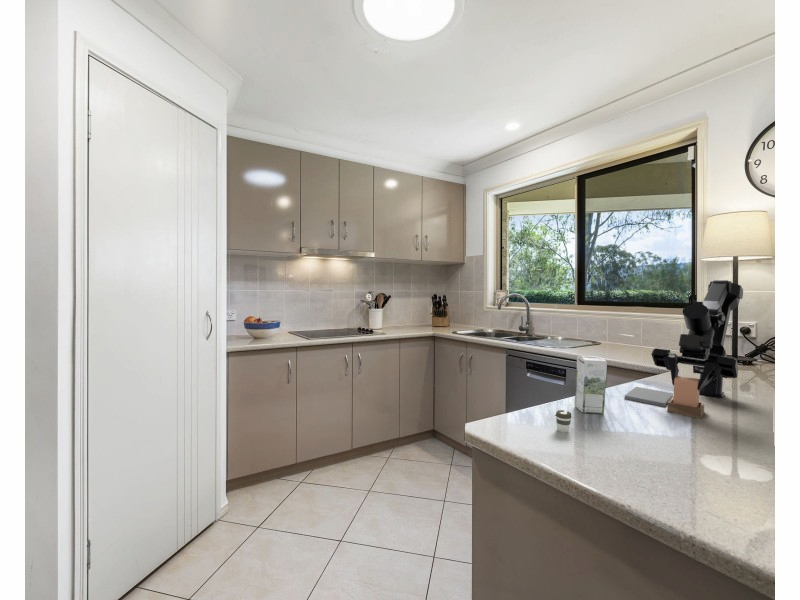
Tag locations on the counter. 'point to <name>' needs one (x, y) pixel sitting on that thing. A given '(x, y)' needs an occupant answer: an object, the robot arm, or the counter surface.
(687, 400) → the terracotta block
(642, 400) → the slate board
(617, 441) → the counter surface
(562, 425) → the coffee cup
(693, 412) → the walnut holder
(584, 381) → the syrup box
